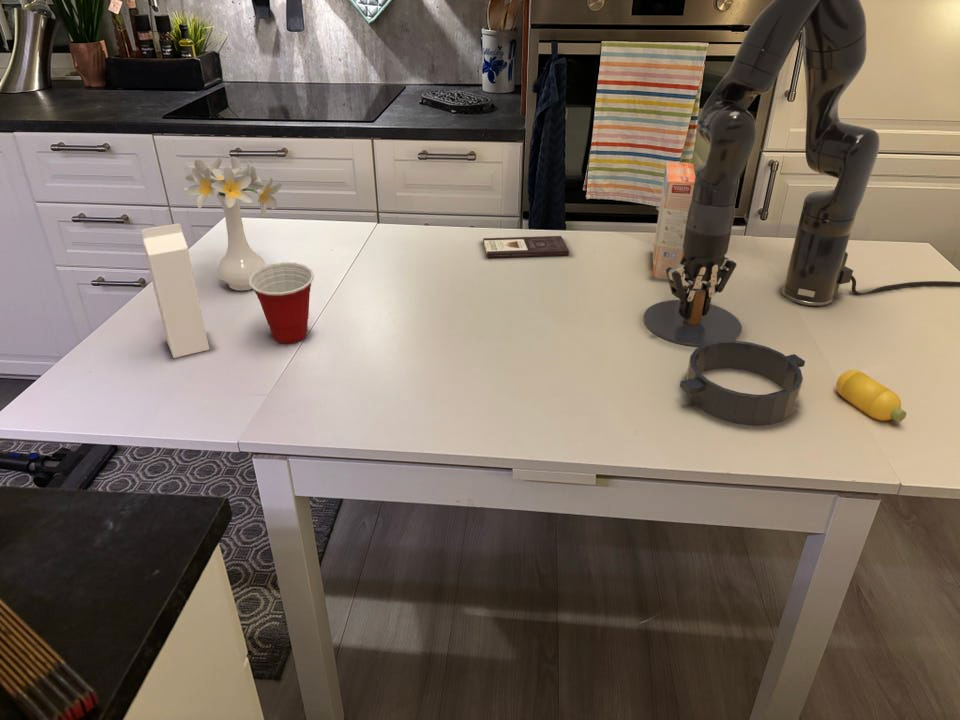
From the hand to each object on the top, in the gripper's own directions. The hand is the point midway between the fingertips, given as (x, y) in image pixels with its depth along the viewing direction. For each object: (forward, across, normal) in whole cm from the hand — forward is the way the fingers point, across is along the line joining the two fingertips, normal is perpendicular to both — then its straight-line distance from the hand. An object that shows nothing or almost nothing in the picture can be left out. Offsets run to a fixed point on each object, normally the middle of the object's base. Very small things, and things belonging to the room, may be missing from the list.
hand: (693, 315), depth 134 cm
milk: (+2, -86, +26) cm, 90 cm away
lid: (+2, 0, 0) cm, 2 cm away
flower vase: (+3, -73, +48) cm, 87 cm away
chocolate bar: (+2, -13, +44) cm, 46 cm away
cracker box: (+3, +11, +24) cm, 27 cm away
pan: (+2, -7, -22) cm, 23 cm away
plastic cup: (+3, -69, +23) cm, 73 cm away
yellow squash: (+2, +9, -32) cm, 33 cm away
